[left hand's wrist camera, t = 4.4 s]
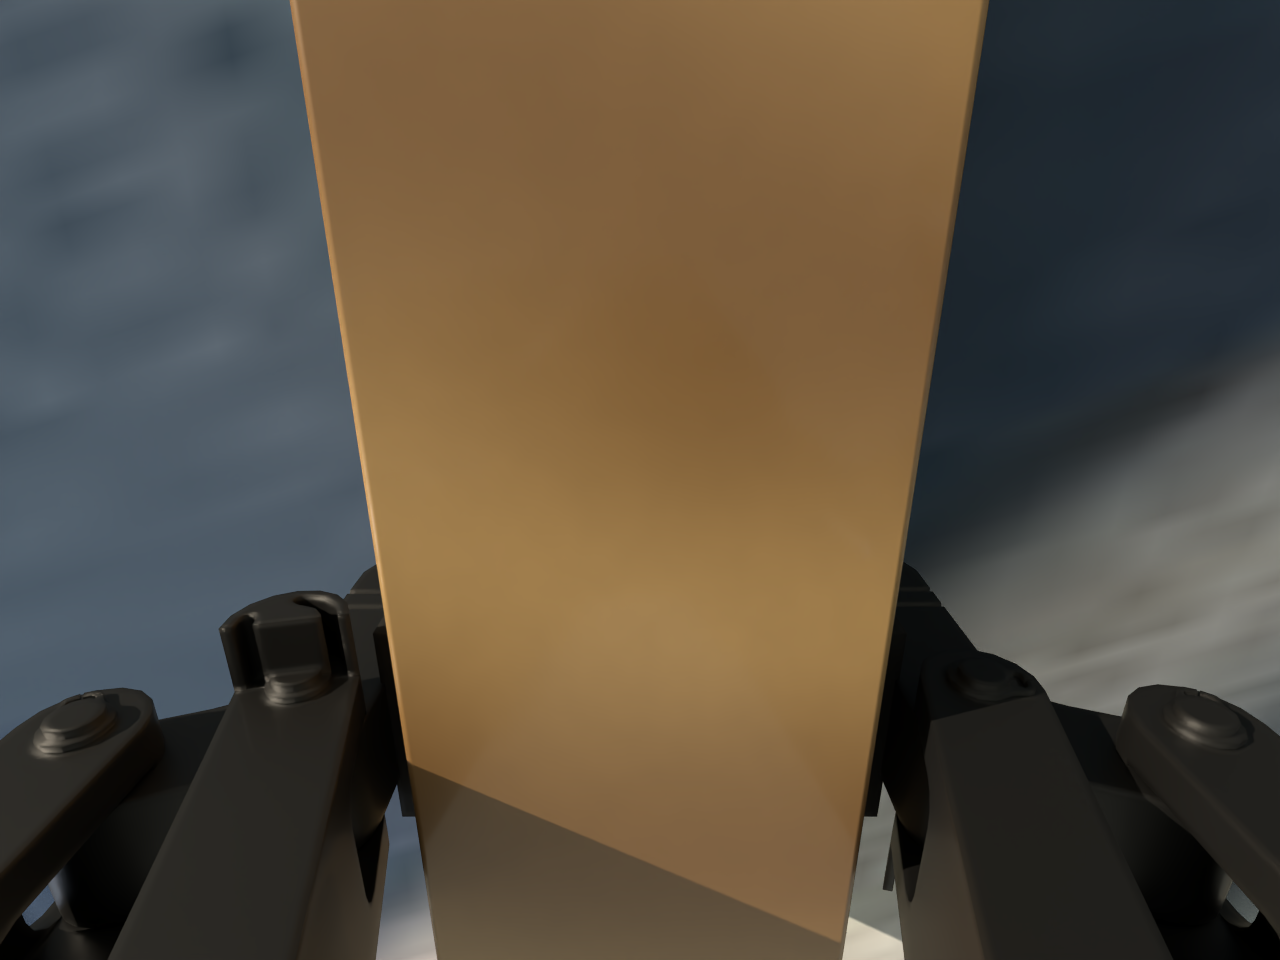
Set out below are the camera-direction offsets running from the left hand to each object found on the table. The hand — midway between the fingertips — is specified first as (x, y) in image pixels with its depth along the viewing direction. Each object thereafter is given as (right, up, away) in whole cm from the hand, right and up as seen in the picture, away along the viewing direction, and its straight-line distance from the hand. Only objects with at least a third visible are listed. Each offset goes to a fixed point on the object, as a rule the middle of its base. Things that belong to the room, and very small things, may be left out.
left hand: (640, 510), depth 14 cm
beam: (0, +26, -9) cm, 28 cm away
